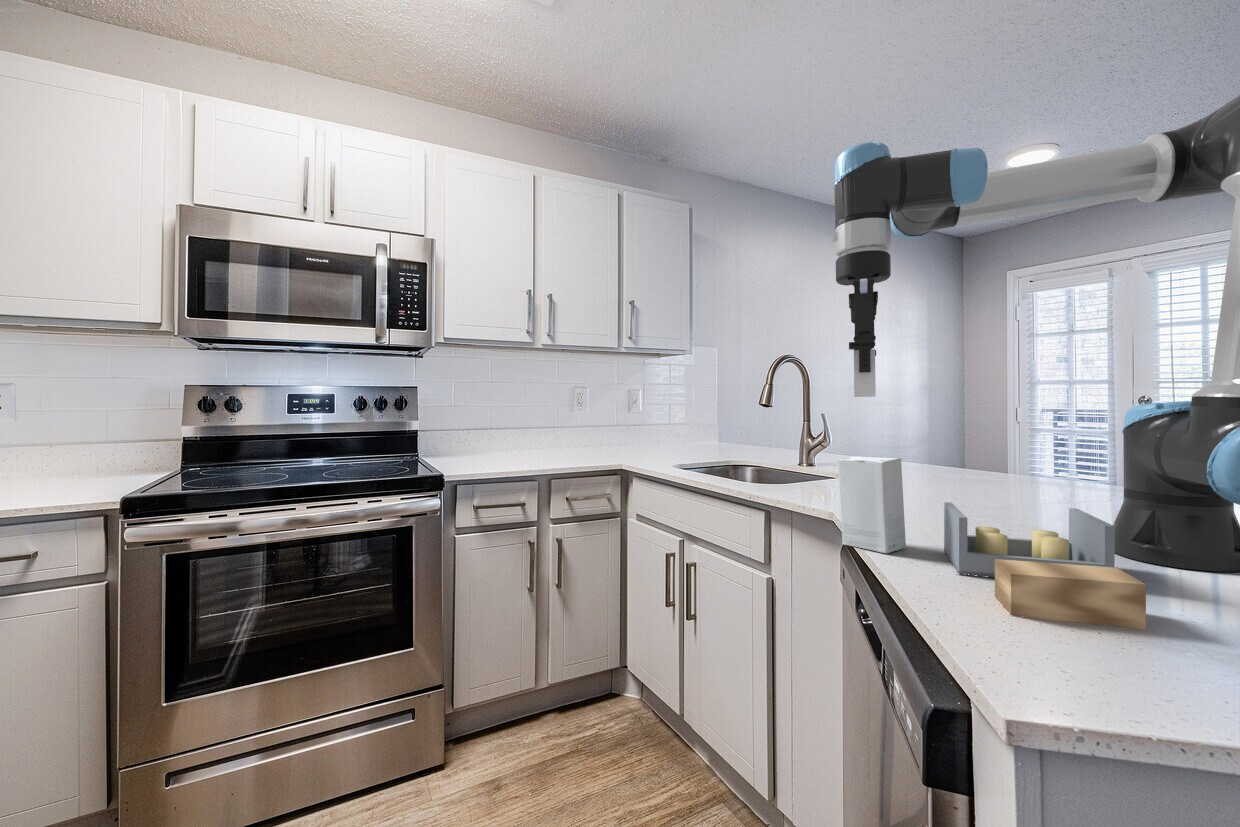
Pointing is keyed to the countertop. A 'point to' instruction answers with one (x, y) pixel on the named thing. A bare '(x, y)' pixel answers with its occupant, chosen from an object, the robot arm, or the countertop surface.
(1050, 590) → the wooden block
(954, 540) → the peg frame
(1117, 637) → the countertop surface
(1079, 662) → the countertop surface
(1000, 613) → the countertop surface
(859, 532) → the skincare box
